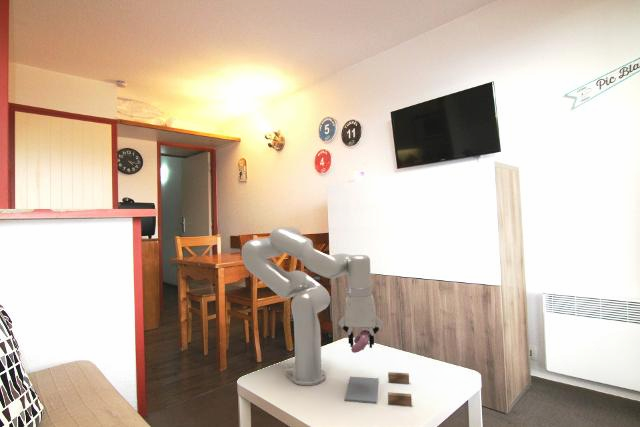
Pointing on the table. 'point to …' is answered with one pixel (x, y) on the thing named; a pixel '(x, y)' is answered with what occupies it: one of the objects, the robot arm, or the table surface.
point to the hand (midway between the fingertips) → (361, 345)
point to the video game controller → (361, 341)
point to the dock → (399, 398)
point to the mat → (362, 390)
